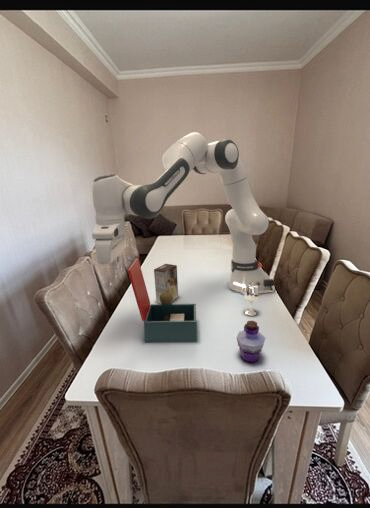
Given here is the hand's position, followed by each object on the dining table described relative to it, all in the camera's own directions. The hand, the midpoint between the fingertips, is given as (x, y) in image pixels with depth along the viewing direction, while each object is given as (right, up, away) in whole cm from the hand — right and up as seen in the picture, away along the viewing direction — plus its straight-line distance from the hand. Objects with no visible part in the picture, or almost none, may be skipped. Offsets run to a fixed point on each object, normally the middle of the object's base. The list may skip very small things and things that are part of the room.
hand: (115, 268), depth 84 cm
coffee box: (+15, -16, +31) cm, 38 cm away
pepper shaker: (+16, -21, +15) cm, 30 cm away
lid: (+8, -7, +2) cm, 11 cm away
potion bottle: (+43, -27, -7) cm, 52 cm away
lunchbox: (+19, -23, +7) cm, 31 cm away
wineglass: (+50, -19, +17) cm, 56 cm away
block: (+21, -23, +7) cm, 31 cm away
